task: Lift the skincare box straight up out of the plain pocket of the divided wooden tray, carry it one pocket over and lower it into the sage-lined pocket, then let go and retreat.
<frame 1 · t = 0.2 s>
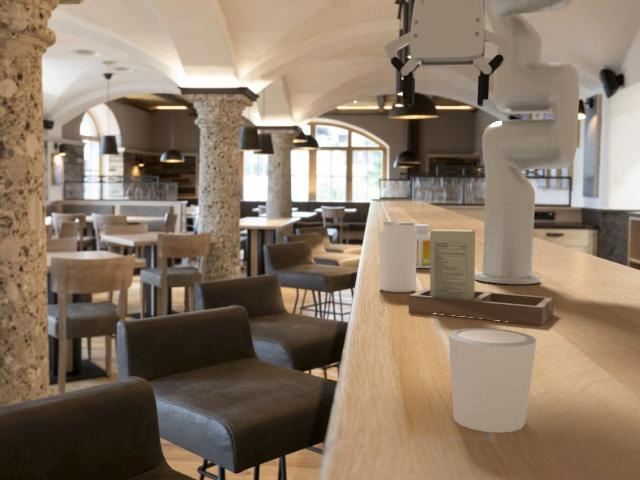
hand: (444, 105, 98), 30 cm above the table, fingers open, 9 cm apart
skincare box: (451, 311, 107), resting in divided wooden tray
divided wooden tray: (480, 313, 105), on the table
white tapered cup: (488, 422, 57), on the table
can: (397, 291, 125), on the table
supplement bottle: (419, 268, 160), on the table
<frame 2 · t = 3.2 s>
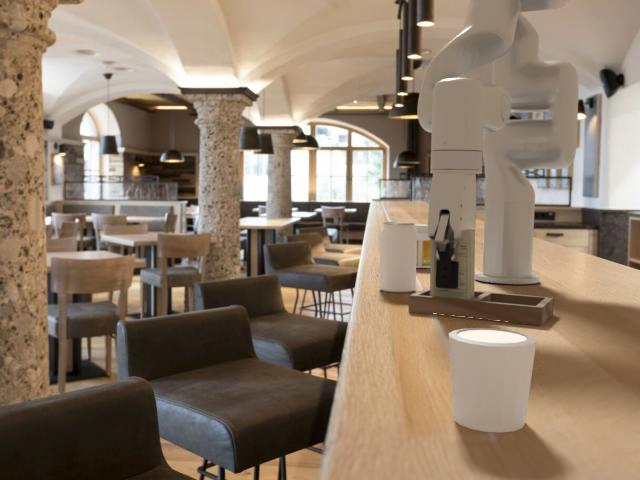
hand: (452, 284, 106), 4 cm above the table, fingers closed on skincare box, 4 cm apart
skincare box: (451, 311, 107), resting in divided wooden tray, touching gripper
everything else where it was.
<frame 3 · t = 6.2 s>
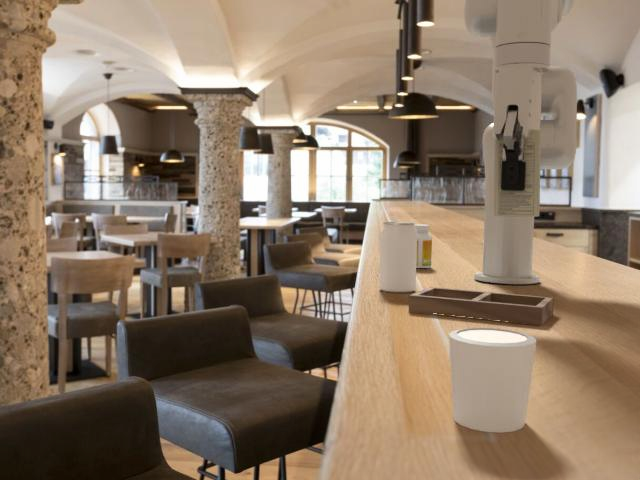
hand: (516, 189, 101), 18 cm above the table, fingers closed on skincare box, 4 cm apart
skincare box: (515, 217, 102), point 14 cm above the table, touching gripper
everything else where it was.
when the fingers open (5 cm above the table, at t = 9.2 s): skincare box drops 1 cm, resting on divided wooden tray.
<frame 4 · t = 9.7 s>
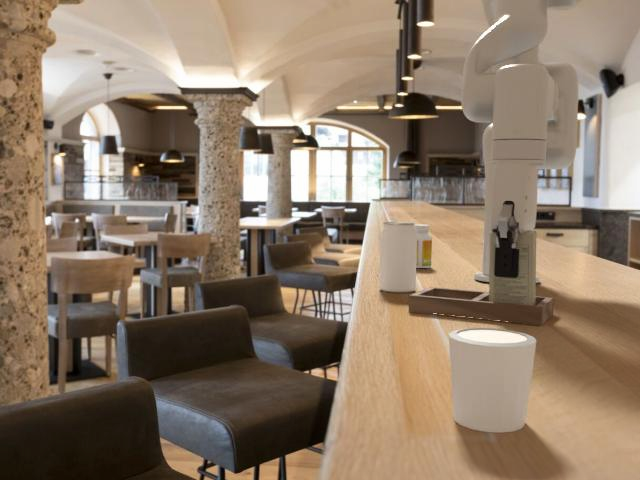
hand: (513, 273, 102), 6 cm above the table, fingers open, 9 cm apart
skincare box: (511, 316, 103), resting on divided wooden tray
everything else where it was.
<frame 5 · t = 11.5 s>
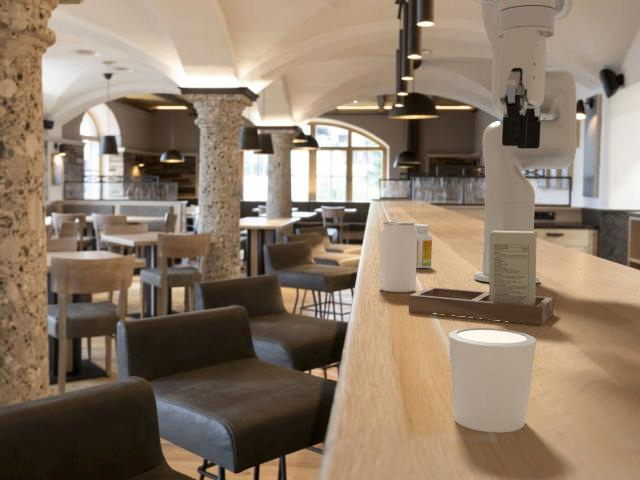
hand: (521, 147, 102), 24 cm above the table, fingers open, 9 cm apart
nothing on the table moved.
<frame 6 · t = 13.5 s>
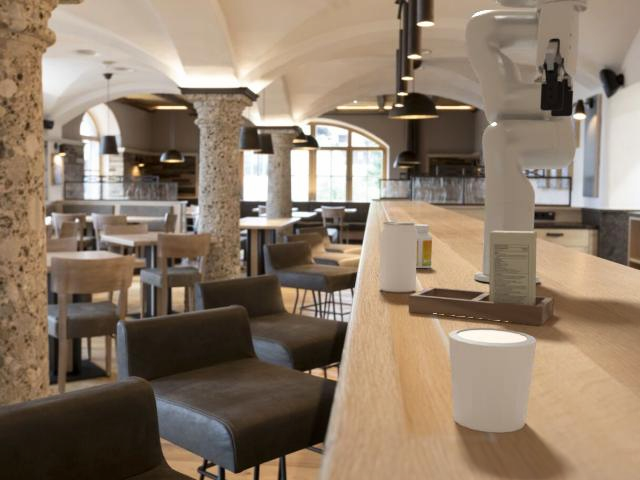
hand: (556, 113, 110), 30 cm above the table, fingers open, 9 cm apart
nothing on the table moved.
at the end: skincare box 0.1 cm from the target spot on the divided wooden tray, point 0.0 cm above the divided wooden tray's base; skincare box tilted 0°; the gripper is holding nothing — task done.
